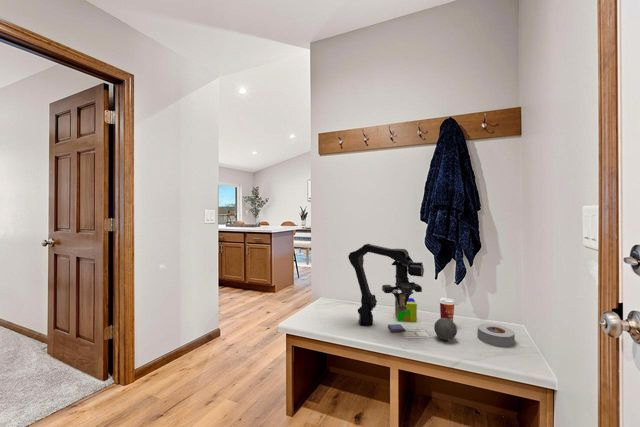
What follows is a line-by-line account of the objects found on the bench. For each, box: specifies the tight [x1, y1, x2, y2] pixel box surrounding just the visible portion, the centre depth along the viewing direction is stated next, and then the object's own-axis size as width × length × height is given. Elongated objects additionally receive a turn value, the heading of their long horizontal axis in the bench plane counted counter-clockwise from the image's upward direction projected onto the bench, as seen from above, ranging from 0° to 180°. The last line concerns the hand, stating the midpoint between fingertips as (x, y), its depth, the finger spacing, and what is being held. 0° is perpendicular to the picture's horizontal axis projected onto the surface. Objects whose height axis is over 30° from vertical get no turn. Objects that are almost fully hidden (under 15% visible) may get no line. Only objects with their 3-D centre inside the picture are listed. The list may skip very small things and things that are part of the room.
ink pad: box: [387, 323, 406, 334], centre depth 159 cm, size 7×7×2 cm
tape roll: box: [477, 323, 516, 348], centre depth 147 cm, size 15×15×5 cm
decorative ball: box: [433, 317, 458, 341], centre depth 148 cm, size 10×10×10 cm
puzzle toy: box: [394, 297, 418, 323], centre depth 174 cm, size 10×10×10 cm
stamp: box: [397, 292, 407, 312], centre depth 156 cm, size 4×4×9 cm
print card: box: [400, 329, 433, 339], centre depth 153 cm, size 13×8×1 cm, turn 94°
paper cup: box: [439, 297, 456, 322], centre depth 163 cm, size 8×8×14 cm
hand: (401, 305), depth 156 cm, fingers closed on stamp, 3 cm apart
